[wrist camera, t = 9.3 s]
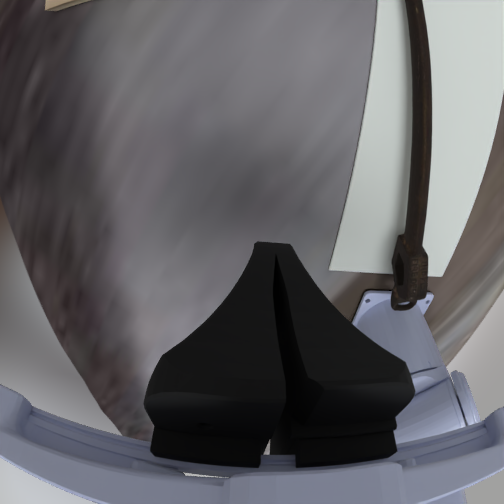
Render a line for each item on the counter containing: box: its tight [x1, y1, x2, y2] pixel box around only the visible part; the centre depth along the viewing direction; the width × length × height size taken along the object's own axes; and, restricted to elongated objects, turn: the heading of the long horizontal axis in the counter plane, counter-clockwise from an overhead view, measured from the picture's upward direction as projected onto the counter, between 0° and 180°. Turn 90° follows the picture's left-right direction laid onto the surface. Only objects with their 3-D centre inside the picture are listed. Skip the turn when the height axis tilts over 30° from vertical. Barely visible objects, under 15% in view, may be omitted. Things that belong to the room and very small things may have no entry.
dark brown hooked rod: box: [391, 0, 432, 311], centre depth 16 cm, size 5×5×30 cm
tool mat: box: [329, 0, 504, 277], centre depth 17 cm, size 28×12×1 cm, turn 176°
